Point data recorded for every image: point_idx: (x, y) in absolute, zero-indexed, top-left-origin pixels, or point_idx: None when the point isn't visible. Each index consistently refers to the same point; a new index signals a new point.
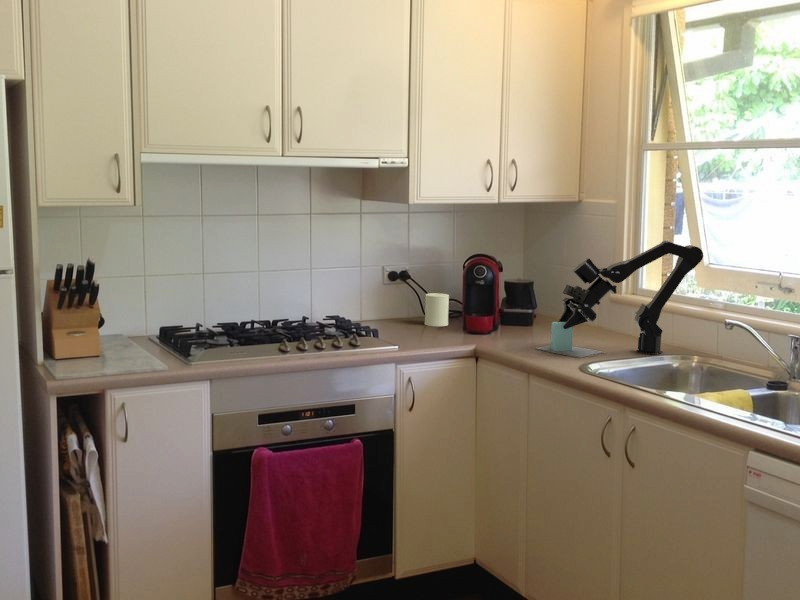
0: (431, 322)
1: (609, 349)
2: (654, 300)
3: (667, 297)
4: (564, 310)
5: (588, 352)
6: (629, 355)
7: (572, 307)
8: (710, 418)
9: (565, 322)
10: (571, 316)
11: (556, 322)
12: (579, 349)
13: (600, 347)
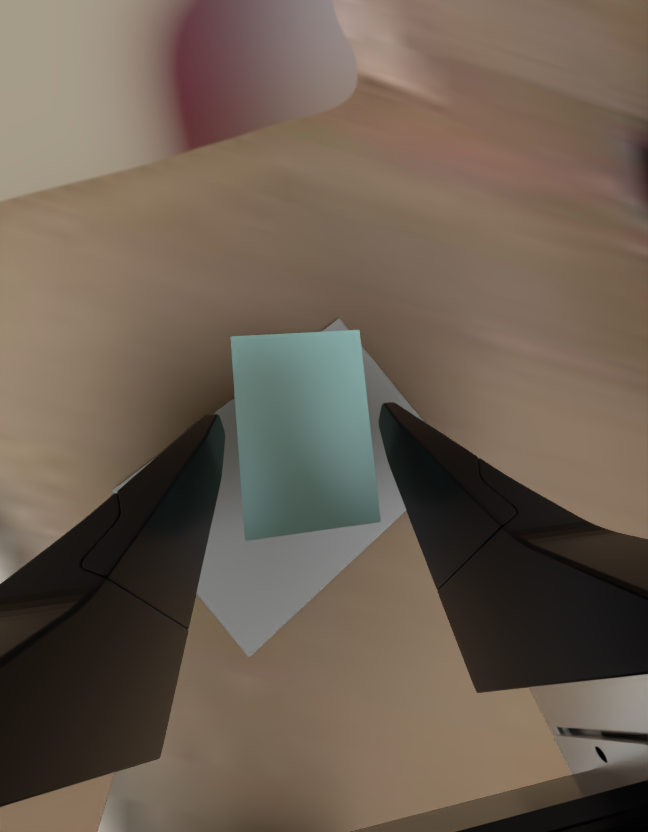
0: None
1: (354, 710)
2: None
3: None
4: (580, 523)
5: (230, 564)
6: (185, 797)
7: (644, 770)
8: None
9: (338, 472)
10: (102, 538)
11: (336, 372)
12: (312, 533)
13: (405, 670)
